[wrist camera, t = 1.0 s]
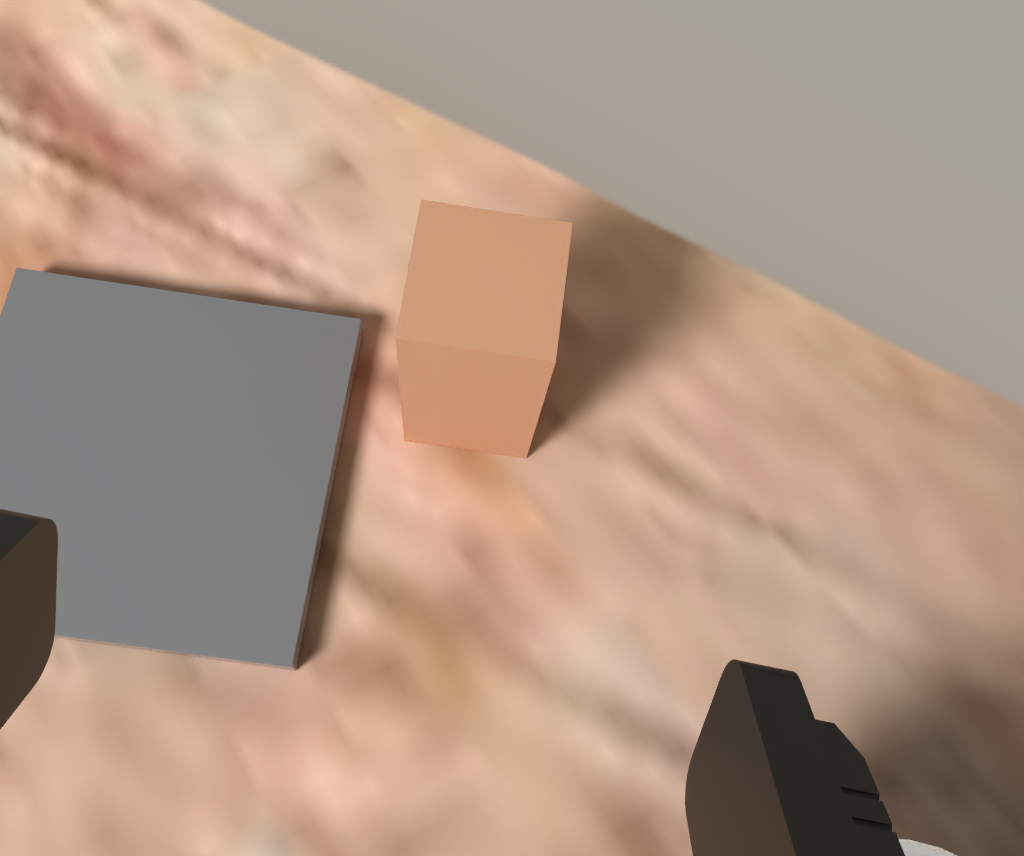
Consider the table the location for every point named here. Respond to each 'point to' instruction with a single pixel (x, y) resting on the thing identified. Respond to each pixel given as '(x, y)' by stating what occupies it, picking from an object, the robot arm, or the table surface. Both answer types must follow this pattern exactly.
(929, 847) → the coffee mug
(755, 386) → the table surface
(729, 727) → the robot arm
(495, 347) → the terracotta block
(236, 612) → the slate tile
